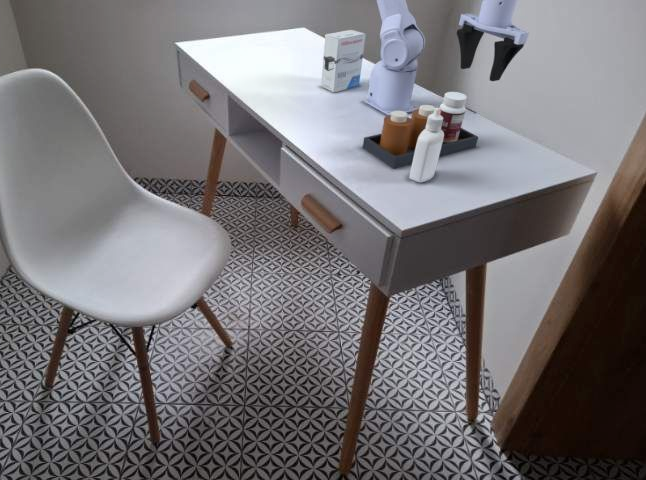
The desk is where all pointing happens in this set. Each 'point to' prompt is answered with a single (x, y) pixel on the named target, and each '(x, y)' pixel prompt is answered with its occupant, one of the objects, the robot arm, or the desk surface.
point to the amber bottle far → (396, 132)
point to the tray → (373, 147)
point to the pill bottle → (452, 115)
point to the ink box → (342, 60)
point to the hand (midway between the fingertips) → (479, 74)
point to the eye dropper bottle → (428, 149)
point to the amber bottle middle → (419, 123)
